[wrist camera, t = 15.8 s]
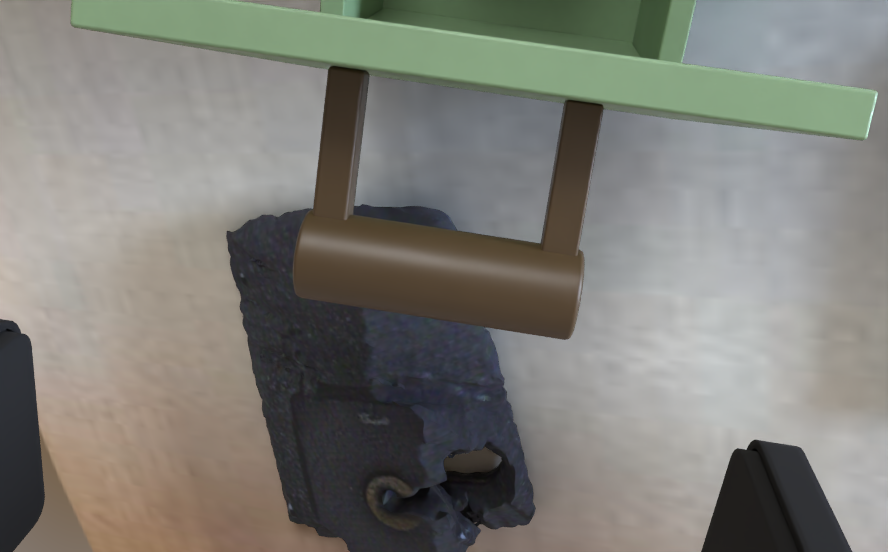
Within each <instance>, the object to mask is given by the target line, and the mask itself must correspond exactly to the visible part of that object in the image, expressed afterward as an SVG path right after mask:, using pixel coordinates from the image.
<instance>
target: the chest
mask: <svg viewBox="0 0 888 552" xmlns="http://www.w3.org/2000/svg"><path fill="white" fill-rule="evenodd" d="M696 1H697V0H321V3H320V12H321V13H328V14H335V15H342V16H349V17H357V18H364V19H371V20H378V21H385V22H392V23H399V24H406V25H414V26H421V27H428V28H435V29H442V30H449V31H456V32H463V33H471V34H478V35H485V36H492V37H499V38H506V39H513V40H520V41H528V42H535V43H542V44H549V45H556V46H563V47H570V48H577V49H584V50H592V51H599V52H606V53H613V54H620V55H627V56H634V57H641V58H649V59H656V60H663V61H670V62H677V63H682V61H683V57H684V53H685V48H686V44H687V40H688V35H689V31H690V27H691V22H692V18H693V14H694V10H695V5H696Z"/></svg>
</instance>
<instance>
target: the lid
mask: <svg viewBox="0 0 888 552" xmlns="http://www.w3.org/2000/svg"><path fill="white" fill-rule="evenodd" d="M71 25H72V26H73V27H75V28H81V29H87V30H93V31H99V32H105V33H111V34H117V35H123V36H129V37H135V38H141V39H147V40H153V41H159V42H165V43H171V44H177V45H183V46H189V47H195V48H201V49H207V50H213V51H219V52H225V53H231V54H237V55H243V56H249V57H255V58H261V59H267V60H273V61H279V62H285V63H291V64H297V65H303V66H309V67H315V68H322V69H328V77H327V86H326V96H325V105H324V114H323V123H322V132H321V142H320V151H319V160H318V169H317V178H316V188H315V197H314V206H313V210H310V211H308V213H307V214H306V216H305V218H304V220H303V222H302V224H301V227H300V230H299V234H298V237H297V242H296V247H295V253H294V261H293V284H294V290H295V293H296V295H297V296H299V297H301V298H305V299H312V300H318V301H324V302H331V303H337V304H343V305H349V306H356V307H362V308H368V309H375V310H381V311H387V312H394V313H400V314H406V315H412V316H419V317H425V318H431V319H438V320H444V321H450V322H457V323H463V324H469V325H475V326H482V327H488V328H494V329H501V330H507V331H513V332H520V333H526V334H532V335H538V336H545V337H551V338H557V339H564V340H566V339H569V338H570V337H571V335H572V333H573V331H574V328H575V324H576V320H577V316H578V311H579V306H580V300H581V294H582V286H583V278H584V254H583V252H582V251H581V250H579V244H580V239H581V233H582V227H583V222H584V216H585V211H586V205H587V199H588V194H589V188H590V182H591V177H592V171H593V165H594V160H595V154H596V149H597V143H598V137H599V132H600V126H601V120H602V115H603V109H607V110H614V111H621V112H628V113H635V114H642V115H649V116H656V117H663V118H669V119H678V120H687V121H695V122H704V123H713V124H722V125H730V126H739V127H748V128H757V129H766V130H774V131H783V132H792V133H801V134H809V135H818V136H827V137H836V138H844V139H853V140H865V139H866V138H867V136H868V132H869V128H870V124H871V120H872V116H873V112H874V108H875V104H876V99H877V92H876V91H875V90H869V89H862V88H855V87H848V86H841V85H834V84H827V83H819V82H812V81H805V80H798V79H791V78H784V77H777V76H770V75H763V74H755V73H748V72H741V71H734V70H727V69H720V68H713V67H706V66H698V65H691V64H684V63H677V62H670V61H663V60H656V59H649V58H641V57H634V56H627V55H620V54H613V53H606V52H599V51H592V50H584V49H577V48H570V47H563V46H556V45H549V44H542V43H535V42H528V41H520V40H513V39H506V38H499V37H492V36H485V35H478V34H471V33H463V32H456V31H449V30H442V29H435V28H428V27H421V26H414V25H406V24H399V23H392V22H385V21H378V20H371V19H364V18H357V17H349V16H342V15H335V14H328V13H321V12H314V11H307V10H300V9H292V8H285V7H278V6H271V5H264V4H257V3H250V2H243V1H236V0H72V4H71ZM369 75H371V76H378V77H385V78H392V79H399V80H406V81H412V82H419V83H426V84H433V85H440V86H447V87H454V88H461V89H468V90H475V91H482V92H489V93H496V94H503V95H510V96H517V97H524V98H531V99H537V100H544V101H551V102H558V103H564V107H563V113H562V119H561V125H560V131H559V137H558V143H557V149H556V155H555V161H554V167H553V173H552V179H551V185H550V191H549V197H548V203H547V209H546V215H545V221H544V227H543V233H542V239H541V243H534V242H527V241H521V240H514V239H508V238H501V237H495V236H488V235H482V234H475V233H469V232H462V231H456V230H449V229H442V228H436V227H429V226H423V225H416V224H410V223H403V222H397V221H390V220H384V219H377V218H371V217H364V216H357V215H353V210H354V202H355V193H356V185H357V177H358V168H359V160H360V151H361V143H362V135H363V126H364V118H365V110H366V101H367V93H368V84H369Z"/></svg>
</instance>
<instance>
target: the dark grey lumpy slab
mask: <svg viewBox="0 0 888 552" xmlns="http://www.w3.org/2000/svg"><path fill="white" fill-rule="evenodd" d="M310 210H313V209H309V208H308V209H303V210H298V211H293V212H287V213H284V214H283V215H281V216H280V217H275V216H273V215H261V216H260V217H258V218H256V219H253V220H249V221H247V222H246V223H245V224H244V225H243V226H242V227H241V228H240V229H238V230H237V231H235V232H229V231H227V235H226V236H227V241H228V251H229V253H230V256H231V258H230V265H231V270H232V274H233V277H234V280H235V282H236V286H237V288H238V289H239V291H240V294H241V302H240V310H241V312H242V313H243V326H244V329H245V331H246V332H247V334H248V345H249V350H250V354H251V359H252V367H253V373H254V375H255V378H256V385H257V388H258V390H259V393H260V396H261V398H262V411H263V415H264V417H265V418H266V423H267V428H268V431H269V434H270V438H271V445H272V447H273V452H274V456H275V458H276V463H277V469H278V472H279V476H280V479H281V483H282V490H283V495H284V498H285V500H286V502H287V508H288V514H289V519H290V521H292V522H295V523H297V524H306V525H307V526H309V527H314V528H315V529H316V531H317V533H318V535H319V536H324V537H340V538H342V539H343V540H344V541H345V542H346V544H347V547H348V550H349V551H350V552H466V550H467V548H468V547H469V546H471V545H473V544H474V543H475V539H476V537H477V535H478V534H479V533H480V532H481V530H480V529H479V528H478V527H477V526H478V525H479V524H483V525H485V526H487V527H488V528H490V529H498V528H501V527H516V526H517V525H527V524H529V523H530V521H531V519H532V517H533V515H534V513H535V509H536V508H535V505H534V504H533V487H532V484H531V482H530V480H529V478H528V472H527V468H526V465H525V462H524V453H523V450H522V447H521V443H520V438H519V435H518V431H517V425H516V424H515V423H514V422H513V413H512V409H511V405H510V403H509V402H508V401H507V400H506V397H507V392H506V390H505V389H504V387H503V385H504V377H503V376H502V374H501V372H500V368H499V361H498V355H497V352H496V348H495V345H494V343H493V341H492V339H491V337H490V333H489V331H487V330H486V329H485V327H482V326H475V325H469V324H463V323H457V322H450V321H444V320H438V319H431V318H425V317H419V316H412V315H406V314H400V313H394V312H387V311H381V310H375V309H368V308H362V307H356V306H349V305H343V304H337V303H331V302H324V301H318V300H312V299H305V298H301V297H299V296H297V295H296V293H295V290H294V284H293V261H294V253H295V247H296V242H297V237H298V234H299V230H300V227H301V224H302V222H303V220H304V218H305V216H306V214H307V213H308V211H310ZM353 215H357V216H364V217H371V218H377V219H384V220H390V221H397V222H403V223H410V224H416V225H423V226H429V227H436V228H442V229H449V230H456V228H455V226H454V225H453V223H452V221H451V219H450V218H449V216H448V215H447V214H445V213H444V212H442V211H440V210H436V209H430V208H426V207H421V206H408V207H401V208H400V207H372V206H368V205H363V204H362V205H361V206H354V210H353ZM456 231H457V230H456ZM484 445H485V447H486V448H487V449H489V450H491V451H493V452H494V453H495V454H497V455H499V456H501V457H502V462H501V463H500V464H499V466H498V467H496V468H495V469H494V470H492V471H491V472H489V473H486V474H484V473H473V474H461V473H458V472H445V469H444V459H445V458H446V457H447V456H448V457H449V458H453V457H454V456H455V454H462V453H465V454H466V453H469V452H471V451H472V450H474V451H477V450H482V449H483V447H484ZM450 454H452V456H451V455H450ZM474 522H477V523H476V524H474Z"/></svg>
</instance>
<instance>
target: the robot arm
mask: <svg viewBox="0 0 888 552" xmlns="http://www.w3.org/2000/svg"><path fill="white" fill-rule="evenodd" d="M44 495H45V494H44V482H43V471H42V460H41V448H40V436H39V425H38V413H37V402H36V390H35V379H34V368H33V356H32V346H31V341H30V339H29V337H28V336H27V335H25V334H21V331H20V329H19V327H18V325H17V324H16V323H14V322H13V321H8V320H2V319H0V552H13V551H14V550H15V548H16V547H17V546H18V545H19V544H20V542H21V541H22V540H23V539H24V537H25V536H26V535H27V534H28V533H29V531H30V530H31V529H32V528H33V527H34V525H35V524H36V522H37V521H38V519H39V517H40V515H41V512H42V509H43V505H44V498H45V496H44ZM701 552H852V550H851V548H850V546H849V544H848V542H847V540H846V538H845V536H844V534H843V532H842V530H841V528H840V525H839V523H838V521H837V519H836V517H835V515H834V513H833V511H832V509H831V507H830V505H829V503H828V501H827V499H826V497H825V495H824V492H823V490H822V488H821V486H820V484H819V482H818V480H817V478H816V476H815V474H814V472H813V470H812V468H811V466H810V464H809V462H808V459H807V457H806V455H805V453H804V452H803V450H802V449H801V448H800V447H797V446H791V445H785V444H778V443H772V442H766V441H759V440H754V441H752V442H751V443H750V444H749V446H748V448H747V450H745V449H738V448H737V449H735V450H734V452H733V453H732V456H731V458H730V462H729V465H728V468H727V471H726V474H725V478H724V481H723V484H722V487H721V490H720V494H719V497H718V500H717V503H716V506H715V510H714V513H713V516H712V519H711V522H710V526H709V529H708V532H707V535H706V538H705V542H704V545H703V548H702V551H701Z"/></svg>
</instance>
